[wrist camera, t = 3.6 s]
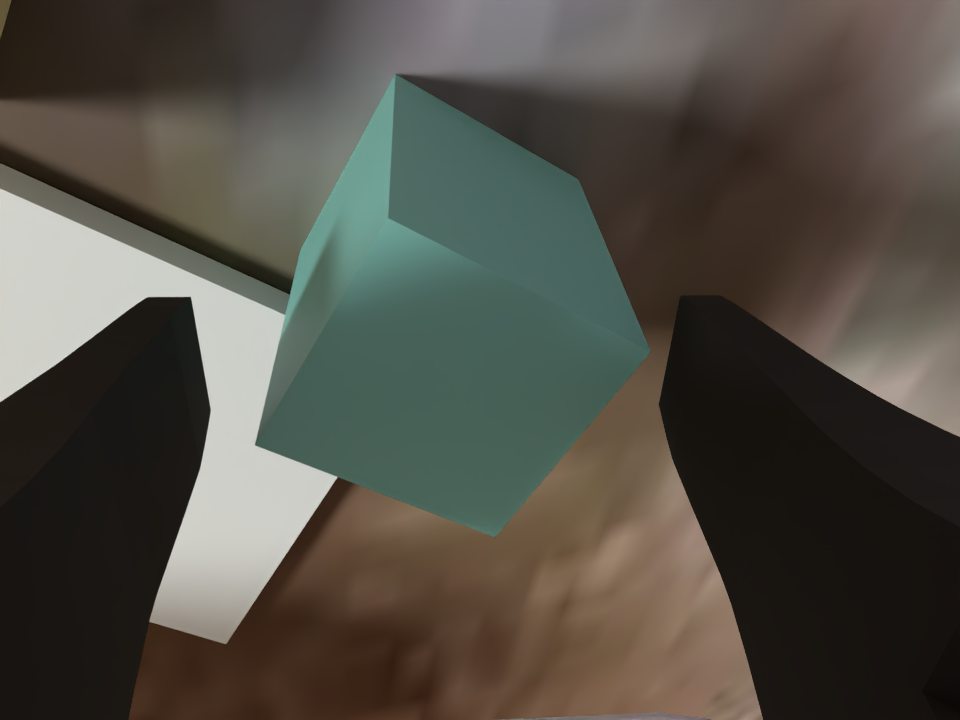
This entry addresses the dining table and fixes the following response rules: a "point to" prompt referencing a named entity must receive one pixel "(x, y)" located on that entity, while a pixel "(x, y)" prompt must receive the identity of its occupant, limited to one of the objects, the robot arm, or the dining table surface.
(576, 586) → the dining table surface
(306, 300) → the teal block
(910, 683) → the robot arm
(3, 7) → the ochre block
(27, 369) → the mat
